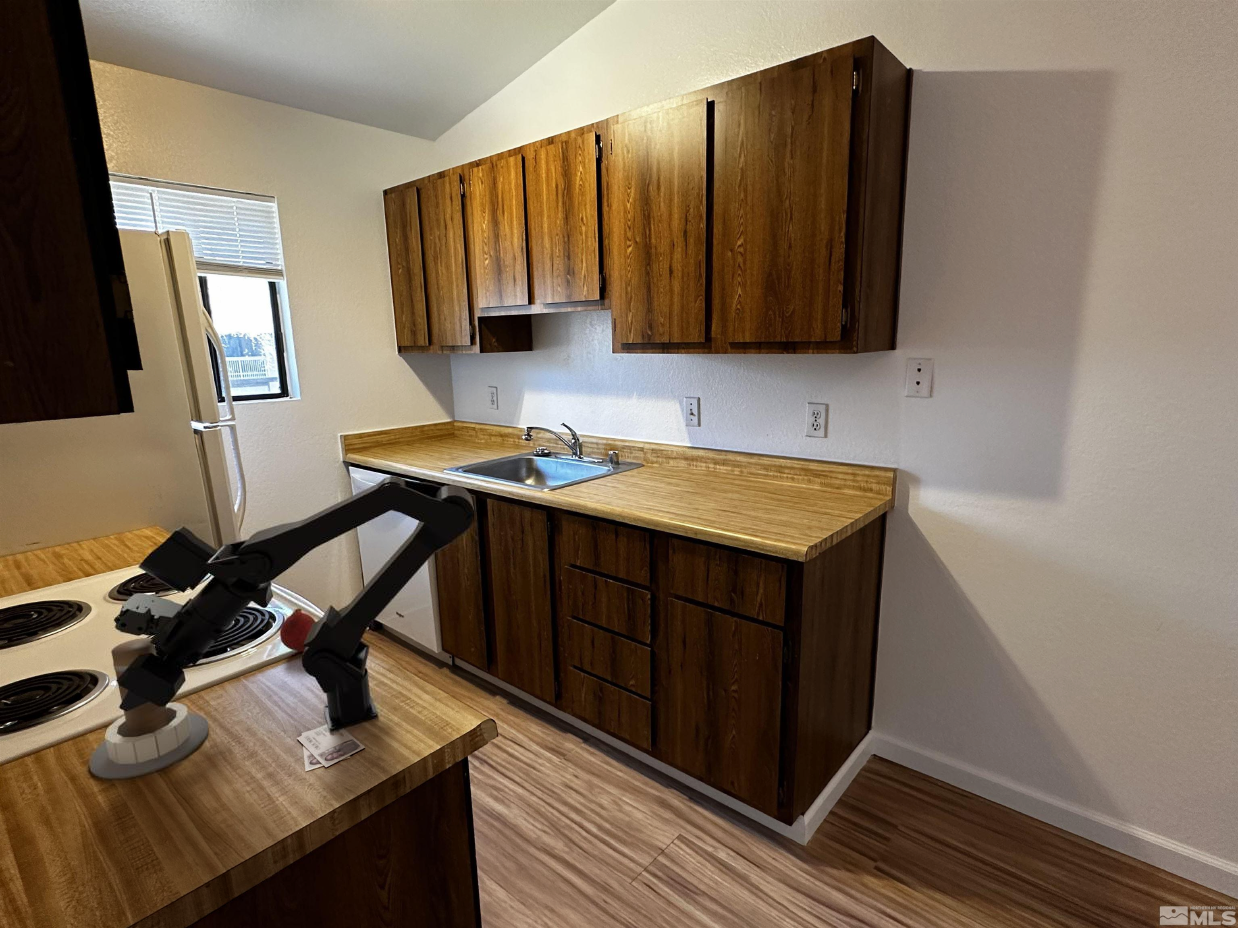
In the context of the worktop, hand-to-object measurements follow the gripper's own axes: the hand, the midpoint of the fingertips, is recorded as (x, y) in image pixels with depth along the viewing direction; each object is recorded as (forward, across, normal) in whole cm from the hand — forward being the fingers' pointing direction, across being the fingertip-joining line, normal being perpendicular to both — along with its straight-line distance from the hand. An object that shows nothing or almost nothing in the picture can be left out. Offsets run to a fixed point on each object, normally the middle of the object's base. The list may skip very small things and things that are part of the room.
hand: (131, 698), depth 83 cm
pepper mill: (+4, 0, +6) cm, 7 cm away
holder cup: (+4, 0, +6) cm, 7 cm away
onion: (-6, -22, +16) cm, 28 cm away
